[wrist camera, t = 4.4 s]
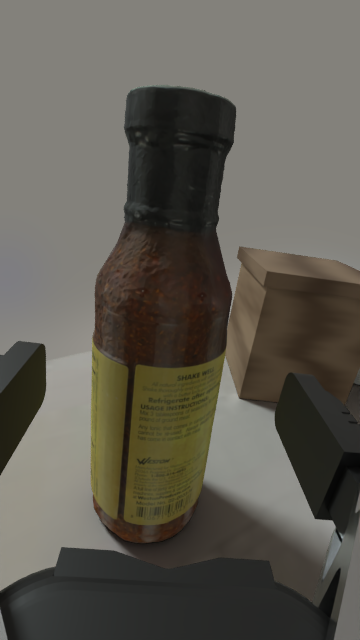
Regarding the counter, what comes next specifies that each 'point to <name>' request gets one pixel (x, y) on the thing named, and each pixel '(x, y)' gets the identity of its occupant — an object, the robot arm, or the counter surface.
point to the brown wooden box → (293, 324)
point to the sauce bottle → (161, 316)
